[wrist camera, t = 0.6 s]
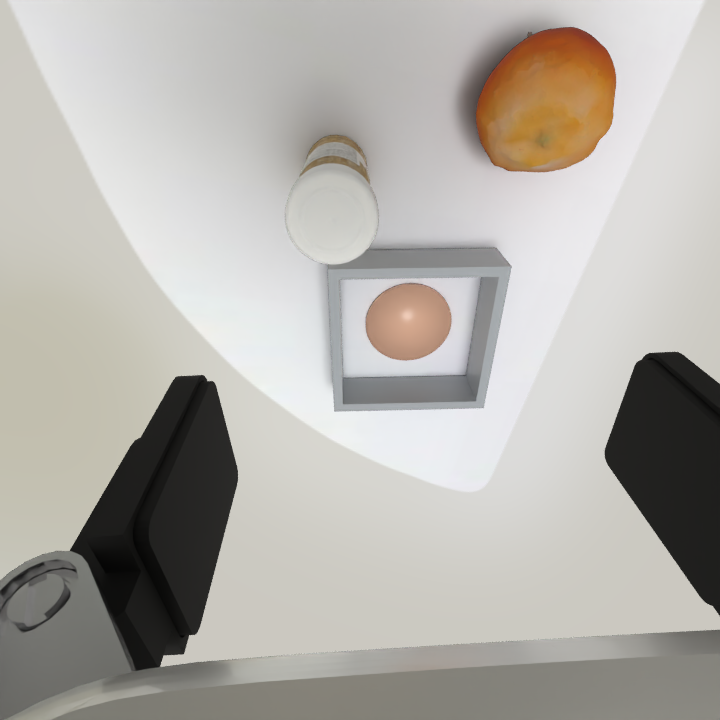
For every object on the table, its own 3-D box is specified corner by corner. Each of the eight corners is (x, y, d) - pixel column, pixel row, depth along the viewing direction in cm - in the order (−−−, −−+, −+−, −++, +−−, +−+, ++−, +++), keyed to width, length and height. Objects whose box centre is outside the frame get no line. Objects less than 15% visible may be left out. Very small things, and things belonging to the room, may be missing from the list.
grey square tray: (329, 250, 35) (327, 269, 32) (496, 247, 36) (511, 266, 32) (335, 384, 43) (334, 411, 40) (472, 381, 43) (483, 408, 40)
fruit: (640, 27, 27) (660, 109, 23) (550, 134, 34) (554, 210, 30) (528, -36, 25) (530, 42, 21) (457, 91, 32) (450, 166, 28)
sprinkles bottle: (360, 205, 34) (368, 274, 22) (301, 193, 33) (278, 258, 22) (373, 140, 31) (389, 181, 20) (309, 126, 30) (289, 161, 19)
